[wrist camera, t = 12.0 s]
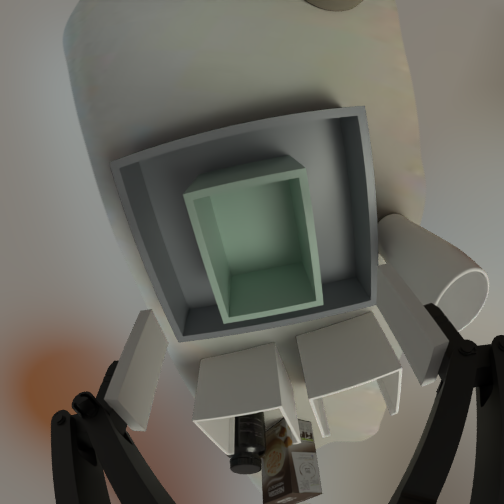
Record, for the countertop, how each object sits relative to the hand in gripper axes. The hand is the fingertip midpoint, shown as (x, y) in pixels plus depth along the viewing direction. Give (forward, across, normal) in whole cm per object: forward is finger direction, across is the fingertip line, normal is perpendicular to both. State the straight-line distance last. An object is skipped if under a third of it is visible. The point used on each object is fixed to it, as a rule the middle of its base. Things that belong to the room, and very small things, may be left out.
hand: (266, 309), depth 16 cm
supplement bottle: (+16, -9, -34) cm, 39 cm away
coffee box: (+16, -3, -44) cm, 46 cm away
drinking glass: (+16, +15, -6) cm, 23 cm away
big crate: (+16, 0, 0) cm, 16 cm away
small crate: (+15, 0, 0) cm, 15 cm away
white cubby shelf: (+16, +1, -24) cm, 29 cm away
